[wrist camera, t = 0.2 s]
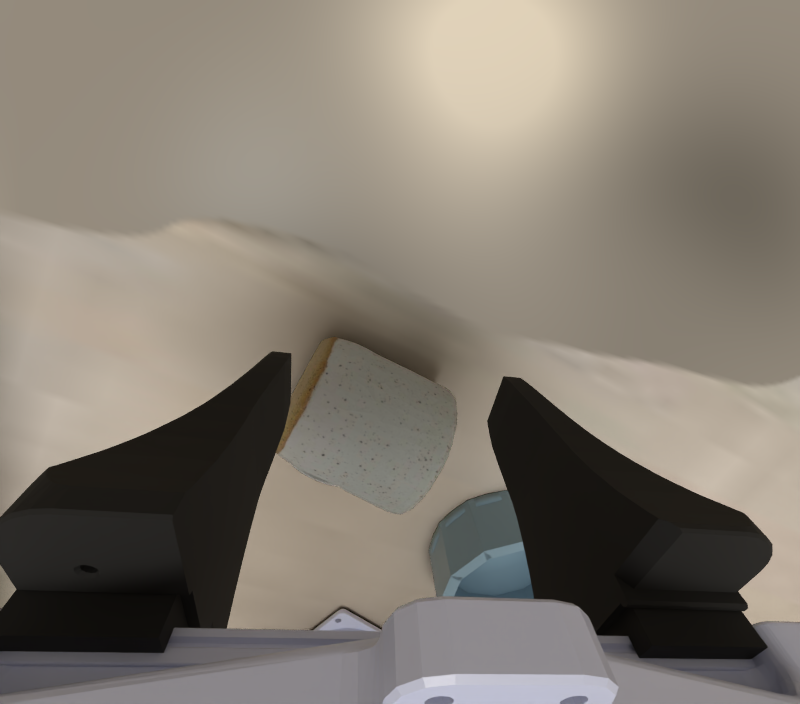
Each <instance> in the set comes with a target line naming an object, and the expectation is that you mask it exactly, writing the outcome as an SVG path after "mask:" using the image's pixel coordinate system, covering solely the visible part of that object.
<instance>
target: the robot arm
mask: <svg viewBox="0 0 800 704" xmlns="http://www.w3.org/2000/svg"><path fill="white" fill-rule="evenodd" d="M290 403H291V353H282V352H273V351H272V352H271V353H269V354H268V355H267V356H266V357H264V358H263V359H262V360H261V361H260V362H259V363H257V364H256V365H255V366H254V367H253V368H252V369H250V370H249V371H248V372H247V373H246V374H244V375H243V376H242V377H240V378H239V379H238V380H237V381H235V382H234V383H233V384H232V385H230V386H229V387H228V388H226V389H225V390H223V391H222V392H220V393H219V394H218V395H216V396H215V397H213V398H212V399H210V400H209V401H207V402H206V403H204V404H202V405H201V406H199V407H197V408H196V409H194V410H192V411H190V412H189V413H187V414H185V415H183V416H181V417H180V418H178V419H176V420H173V421H171V422H169V423H167V424H165V425H163V426H161V427H159V428H157V429H155V430H153V431H151V432H148V433H146V434H144V435H141V436H139V437H137V438H134V439H132V440H129V441H127V442H124V443H121V444H119V445H116V446H114V447H111V448H108V449H105V450H103V451H100V452H97V453H94V454H91V455H87V456H84V457H81V458H78V459H75V460H72V461H69V462H65V463H62V464H59V465H56V466H52V467H49V468H48V469H47V470H45V471H44V472H43V473H42V474H41V475H40V476H39V477H38V478H37V479H36V480H35V481H34V482H33V483H32V484H31V485H30V486H29V487H28V488H27V489H26V490H25V492H24V493H23V494H22V495H21V496H20V497H19V498H18V499H17V500H16V501H15V502H14V503H13V504H12V505H11V506H10V507H9V509H8V510H7V511H6V512H5V513H4V514H3V515H2V516H1V517H0V565H1V566H2V568H3V569H4V571H5V572H6V574H7V575H8V577H9V578H10V580H11V582H12V583H13V585H14V586H15V588H16V589H17V590H16V591H15V592H14V594H13V595H12V596H11V598H10V599H9V600H8V601H7V603H6V604H5V605H4V607H3V608H0V704H800V622H779V621H766V622H759V623H756V624H753V625H751V623H750V622H749V621H748V619H747V618H746V617H745V615H744V614H743V613H742V611H745V610H746V609H748V605H747V603H746V601H745V600H744V599H743V598H742V596H741V595H740V594H739V592H738V591H739V590H740V589H741V588H742V587H743V586H744V585H746V584H747V583H748V582H749V581H750V580H751V579H752V578H753V577H755V576H756V575H757V574H758V573H759V572H760V571H761V570H762V569H763V568H764V567H765V566H766V565H767V564H768V562H769V560H770V558H771V556H772V543H771V542H770V541H769V539H768V538H767V537H766V536H765V535H764V534H763V533H762V531H761V530H760V529H759V528H758V527H757V526H756V525H755V524H754V523H753V522H752V521H751V520H750V519H749V518H748V517H747V516H746V515H745V514H744V513H742V512H740V511H737V510H735V509H732V508H730V507H728V506H725V505H723V504H720V503H718V502H715V501H713V500H711V499H708V498H706V497H703V496H701V495H699V494H696V493H694V492H692V491H690V490H688V489H686V488H684V487H682V486H679V485H677V484H675V483H673V482H671V481H669V480H667V479H665V478H663V477H661V476H659V475H657V474H655V473H653V472H652V471H650V470H648V469H646V468H644V467H643V466H641V465H639V464H637V463H635V462H634V461H632V460H630V459H629V458H627V457H625V456H624V455H622V454H620V453H619V452H617V451H616V450H614V449H613V448H611V447H609V446H608V445H606V444H605V443H603V442H602V441H600V440H599V439H597V438H596V437H595V436H593V435H592V434H590V433H589V432H588V431H586V430H585V429H584V428H582V427H581V426H580V425H578V424H577V423H576V422H574V421H573V420H572V419H571V418H569V417H568V416H567V415H566V414H564V413H563V412H562V411H561V410H559V409H558V408H557V407H556V406H555V405H553V404H552V403H551V402H550V401H549V400H547V399H546V398H545V397H544V396H543V395H541V394H540V393H539V392H538V391H537V390H535V389H534V388H533V387H532V386H530V385H529V384H528V383H527V382H525V381H524V380H522V379H521V378H515V377H505V376H504V377H503V379H502V382H501V385H500V388H499V390H498V393H497V396H496V399H495V402H494V404H493V407H492V410H491V413H490V415H489V418H488V421H487V422H488V428H489V433H490V438H491V443H492V447H493V450H494V453H495V456H496V459H497V462H498V465H499V468H500V470H501V473H502V476H503V479H504V481H505V484H506V487H507V490H508V493H509V495H510V498H511V501H512V504H513V507H514V510H515V513H516V517H517V521H518V525H519V529H520V533H521V537H522V541H523V546H524V550H525V555H526V560H527V565H528V569H529V574H530V579H531V585H532V591H533V596H534V599H517V598H485V597H452V596H440V597H431V598H422V599H417V600H414V601H412V602H410V603H407V604H405V605H402V606H400V607H398V608H397V609H396V610H395V611H394V612H393V613H392V615H391V616H390V617H389V618H388V619H387V621H386V622H385V623H384V624H383V627H382V630H381V629H379V628H377V627H376V626H374V625H372V624H370V623H369V622H367V621H365V620H363V619H362V618H360V617H358V616H356V615H355V614H353V613H351V612H349V611H348V610H346V609H340V610H338V611H337V612H336V613H334V614H333V615H332V616H331V617H329V618H328V619H327V620H326V621H324V622H323V623H322V624H320V625H319V626H318V627H317V628H315V629H314V630H275V629H227V625H228V620H229V616H230V611H231V607H232V602H233V598H234V594H235V590H236V586H237V581H238V577H239V573H240V569H241V565H242V561H243V557H244V553H245V549H246V545H247V541H248V537H249V533H250V529H251V525H252V521H253V518H254V514H255V510H256V506H257V503H258V499H259V496H260V493H261V490H262V487H263V485H264V482H265V479H266V477H267V474H268V471H269V469H270V466H271V464H272V461H273V458H274V456H275V453H276V451H277V448H278V445H279V443H280V440H281V437H282V435H283V432H284V429H285V425H286V421H287V416H288V412H289V408H290Z"/></svg>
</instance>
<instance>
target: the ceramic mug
mask: <svg viewBox="0 0 800 704" xmlns="http://www.w3.org/2000/svg"><path fill="white" fill-rule="evenodd" d="M456 425H457V406H456V400H455V397H454V395H453V394H452V393H451V391H450V390H448V389H446V388H445V387H443V386H441V385H439V384H437V383H435V382H433V381H431V380H429V379H427V378H425V377H423V376H421V375H419V374H417V373H415V372H413V371H411V370H409V369H407V368H405V367H403V366H400V365H398V364H396V363H394V362H392V361H390V360H388V359H386V358H384V357H382V356H380V355H378V354H376V353H374V352H372V351H371V350H369V349H367V348H365V347H363V346H361V345H358V344H356V343H354V342H351V341H347V340H344V339H340V338H337V337H331V338H328V339H324V340H323V341H322V342H321V343H320V344H319V346H318V348H317V350H316V351H315V353H314V355H313V357H312V358H311V360H310V362H309V364H308V366H307V368H306V369H305V371H304V373H303V375H302V377H301V379H300V381H299V382H298V384H297V386H296V388H295V390H294V392H293V394H292V395H291V403H290V408H289V412H288V416H287V421H286V425H285V429H284V432H283V435H282V437H281V440H280V443H279V445H278V448H277V451H276V453H277V454H278V455H279V456H281V457H282V458H283V459H285V460H286V461H288V462H289V463H290V464H291V465H292V466H293V467H294V468H296V469H297V470H298V471H300V472H301V473H302V474H304V475H306V476H308V477H310V478H312V479H314V480H316V481H318V482H321V483H324V484H327V485H331V486H336V487H340V488H342V489H343V490H345V491H347V492H349V493H351V494H353V495H355V496H357V497H359V498H361V499H363V500H365V501H367V502H369V503H371V504H373V505H375V506H377V507H379V508H381V509H383V510H385V511H387V512H390V513H393V514H403V513H405V512H407V511H409V510H411V509H413V508H414V507H415V506H416V505H417V504H418V503H419V502H420V501H421V500H422V499H423V497H424V496H425V495H426V494H427V493H428V491H429V490H430V489H431V487H432V485H433V483H434V482H435V480H436V478H437V477H438V475H439V474H440V472H441V470H442V468H443V466H444V464H445V462H446V460H447V458H448V455H449V452H450V450H451V446H452V443H453V438H454V434H455V430H456Z"/></svg>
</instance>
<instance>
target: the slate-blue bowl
mask: <svg viewBox="0 0 800 704" xmlns="http://www.w3.org/2000/svg"><path fill="white" fill-rule="evenodd" d="M429 554H430V560H431V566H432V572H433V578H434V584H435V590H436V596H437V597H440V596H452V597H485V598H517V599H534V596H533V591H532V585H531V579H530V574H529V569H528V565H527V560H526V555H525V550H524V546H523V541H522V537H521V533H520V529H519V525H518V521H517V517H516V513H515V510H514V507H513V504H512V501H511V498H510V495H509V493H508V491H501V492H495V493H490V494H485V495H482V496H479V497H476V498H474V499H470V500H467V501H466V502H465V503H463V504H462V505H460V506H458V507H457V508H456V509H454V510H453V511H452V512H451V513H449V514H448V515H447V516H446V517H445V518H444V519H443V520H442V521H441V522H439V525H438V527H437V529H436V531H435V533H434V535H433V537H432V541H431V545H430V548H429Z"/></svg>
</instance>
